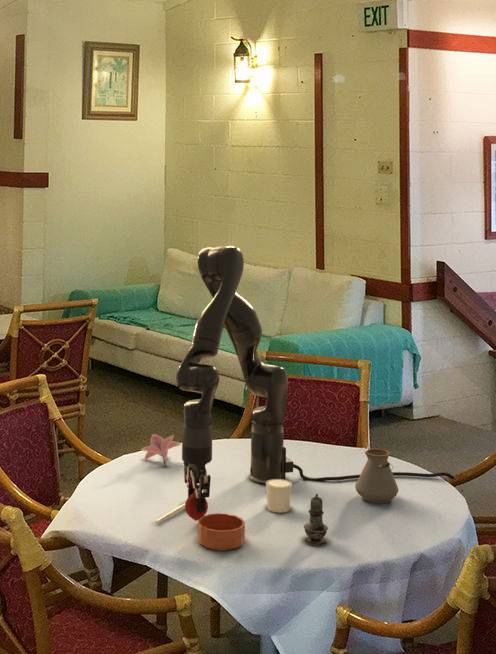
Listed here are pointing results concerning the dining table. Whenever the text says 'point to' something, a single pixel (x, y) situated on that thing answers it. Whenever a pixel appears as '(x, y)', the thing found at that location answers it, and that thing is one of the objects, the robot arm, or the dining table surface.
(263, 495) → the dining table surface
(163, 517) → the fork
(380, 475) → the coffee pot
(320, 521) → the pawn-shaped pepper mill
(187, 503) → the onion
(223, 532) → the bowl
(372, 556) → the dining table surface
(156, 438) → the lily
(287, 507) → the cream cylinder
